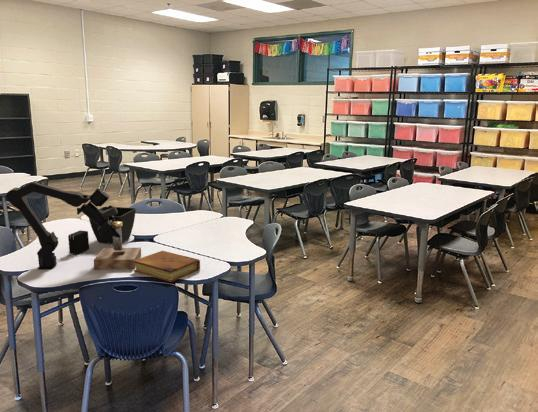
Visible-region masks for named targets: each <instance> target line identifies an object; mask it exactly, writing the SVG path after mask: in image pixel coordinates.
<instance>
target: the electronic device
mask: <svg viewBox="0 0 538 412" xmlns="http://www.w3.org/2000/svg"><path fill="white" fill-rule="evenodd" d="M67 238H68V251H69V254H70V255H76V256H77V255H80V254H83V253H85V252H86V251H88V250H89V249H90V242H89V241H90V239H89V231H88V230H78V231H75V232H73V233H70V234H68V237H67Z"/></svg>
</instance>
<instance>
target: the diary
mask: <svg viewBox="0 0 538 412" xmlns="http://www.w3.org/2000/svg"><path fill="white" fill-rule="evenodd" d="M134 263H136V267H135V269H133V272H135V273H138V274H142V275H145V276H149V277H152V278H155V279H159V280H163V281H166V282H170V283H173V282H175V281H177V280H179V279H180V280H181V279H182V278H184V277H187V276H189V275H192V274H195V272H196V273H197V272H198V271H200V269H201V260H200V259H198V258H194V257H190V256H186V255H182V254H179V253H174V252H170V251H167V250H160V251H157V252H155V253H151V254H148V255H146V256H143V257H142V256H141V258H139V259H136V260H134Z"/></svg>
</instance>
